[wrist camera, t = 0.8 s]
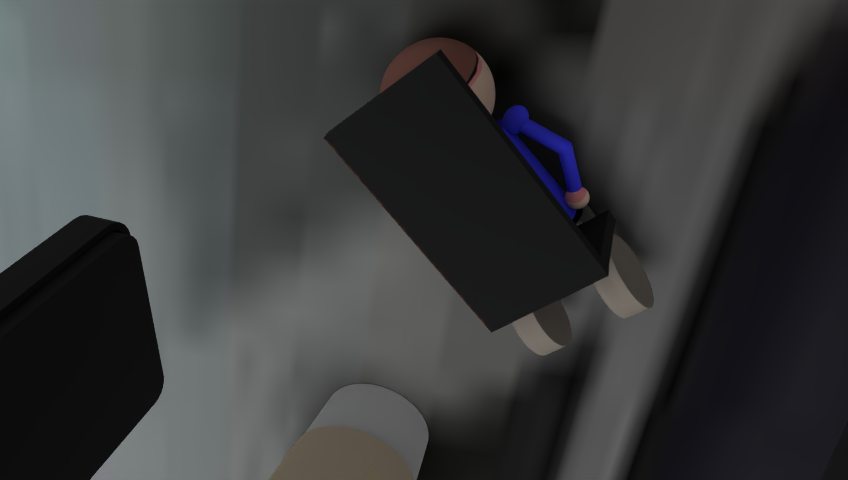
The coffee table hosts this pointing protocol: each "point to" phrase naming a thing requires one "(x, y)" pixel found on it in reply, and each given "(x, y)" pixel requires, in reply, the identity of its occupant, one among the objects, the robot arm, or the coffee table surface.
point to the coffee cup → (359, 439)
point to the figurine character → (486, 196)
